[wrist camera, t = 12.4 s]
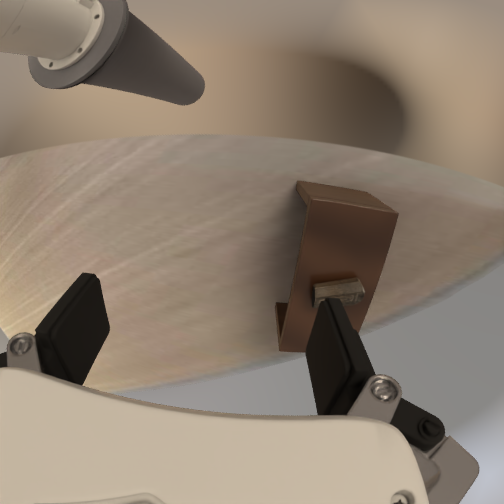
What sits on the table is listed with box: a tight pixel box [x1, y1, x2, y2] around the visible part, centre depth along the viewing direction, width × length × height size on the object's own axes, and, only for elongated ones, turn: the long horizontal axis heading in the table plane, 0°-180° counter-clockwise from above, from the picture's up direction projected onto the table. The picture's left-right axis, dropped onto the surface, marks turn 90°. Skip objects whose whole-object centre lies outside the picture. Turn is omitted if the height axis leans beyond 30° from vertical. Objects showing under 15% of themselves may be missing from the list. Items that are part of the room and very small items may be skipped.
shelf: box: [275, 181, 399, 352], centre depth 35 cm, size 20×10×10 cm, turn 174°
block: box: [312, 277, 365, 308], centre depth 30 cm, size 4×6×2 cm, turn 95°
